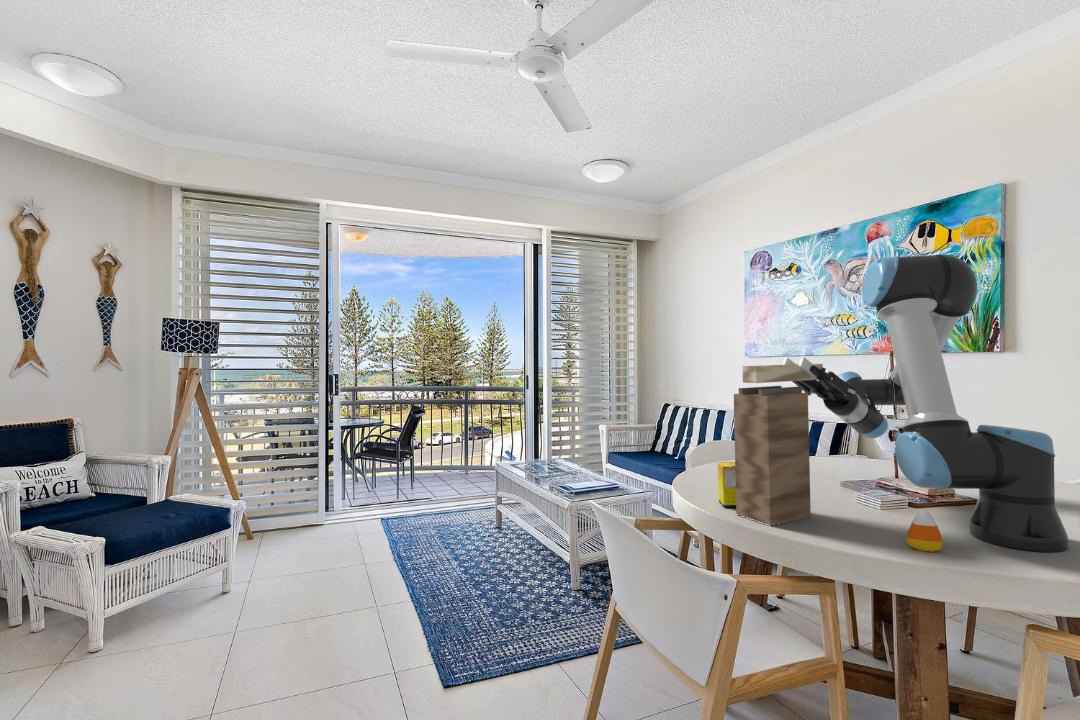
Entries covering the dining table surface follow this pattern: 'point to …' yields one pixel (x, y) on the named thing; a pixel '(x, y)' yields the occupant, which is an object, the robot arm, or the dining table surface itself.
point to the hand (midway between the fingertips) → (792, 361)
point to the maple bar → (775, 373)
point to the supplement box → (727, 484)
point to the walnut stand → (772, 454)
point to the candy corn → (924, 533)
